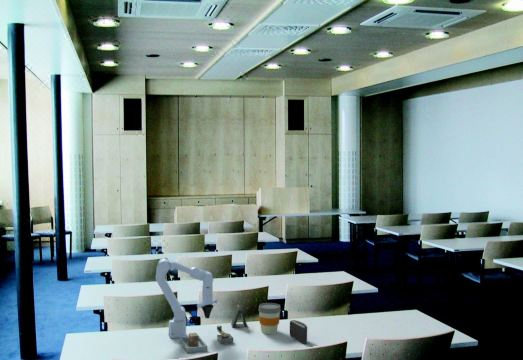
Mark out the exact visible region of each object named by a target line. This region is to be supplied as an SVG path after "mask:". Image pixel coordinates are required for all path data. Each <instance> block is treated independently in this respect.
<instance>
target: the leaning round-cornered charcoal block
mask: <svg viewBox="0 0 523 360" xmlns="http://www.w3.org/2000/svg"><path fill="white" fill-rule="evenodd" d="M289 336H290V338H293V339H294V340H296V341H297V342H300V343H301V344H303V345H306V344H307V343H308V325H307V324H305V323H304V322H301V321H299V320H296V319H295V320H294V319H292V320H289Z"/></svg>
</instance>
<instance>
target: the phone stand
mask: <svg viewBox="0 0 523 360" xmlns="http://www.w3.org/2000/svg"><path fill="white" fill-rule="evenodd" d="M235 306H236V310H235V312H234V315H233V317H232V321H231V323H230V325H231V327H232V329H236V328H237V329H241V328H243V329H244V328H249V327H248V324H247V321H246V318H245V316H244V308H243V307H242V305H241V304H237V305H235ZM239 315H240V317H241V320H242V323H238V319H239Z"/></svg>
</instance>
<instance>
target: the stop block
mask: <svg viewBox="0 0 523 360" xmlns="http://www.w3.org/2000/svg"><path fill="white" fill-rule="evenodd" d="M188 337H189V346H190V347H198V342H199V335H198V333H197V332H193V333H192V332H191V333H188Z"/></svg>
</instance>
